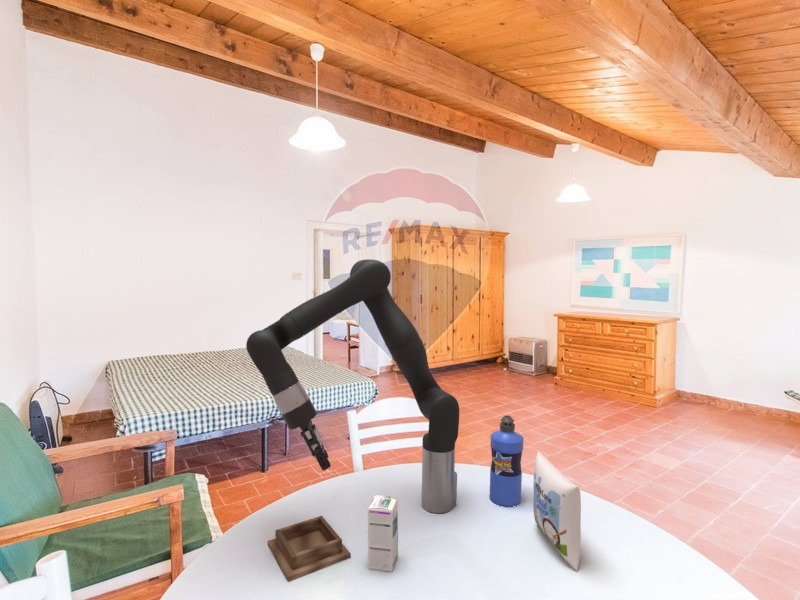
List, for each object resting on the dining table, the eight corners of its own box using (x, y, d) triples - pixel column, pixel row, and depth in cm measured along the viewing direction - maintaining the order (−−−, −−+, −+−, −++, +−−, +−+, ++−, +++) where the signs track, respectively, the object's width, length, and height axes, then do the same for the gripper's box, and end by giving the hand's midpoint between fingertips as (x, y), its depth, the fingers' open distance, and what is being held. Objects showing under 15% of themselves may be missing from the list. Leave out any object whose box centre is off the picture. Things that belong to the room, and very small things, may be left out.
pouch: (553, 522, 118) (555, 450, 117) (589, 571, 99) (593, 485, 98) (524, 524, 117) (526, 451, 116) (555, 573, 98) (559, 486, 97)
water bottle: (515, 511, 124) (518, 424, 122) (484, 501, 128) (486, 417, 127) (525, 497, 131) (528, 415, 130) (495, 488, 136) (497, 409, 135)
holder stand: (324, 525, 115) (324, 511, 115) (350, 557, 103) (350, 541, 103) (267, 544, 107) (267, 528, 107) (288, 581, 95) (287, 563, 94)
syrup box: (392, 572, 98) (393, 510, 97) (367, 568, 99) (367, 506, 98) (398, 556, 103) (398, 497, 102) (373, 553, 105) (374, 494, 104)
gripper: (309, 400, 101) (342, 462, 101) (308, 393, 114) (337, 448, 115) (279, 417, 99) (313, 481, 99) (281, 408, 113) (311, 464, 113)
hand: (326, 463), depth 107 cm, fingers open, 8 cm apart
